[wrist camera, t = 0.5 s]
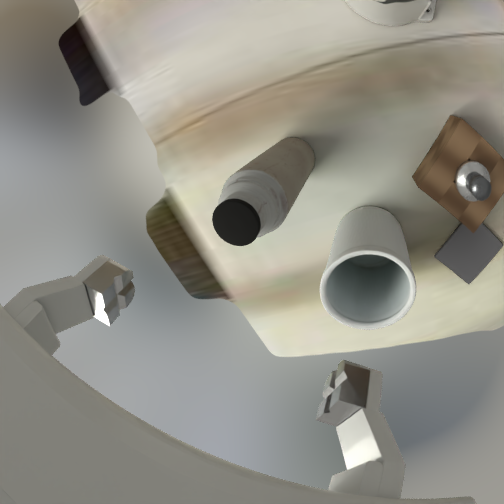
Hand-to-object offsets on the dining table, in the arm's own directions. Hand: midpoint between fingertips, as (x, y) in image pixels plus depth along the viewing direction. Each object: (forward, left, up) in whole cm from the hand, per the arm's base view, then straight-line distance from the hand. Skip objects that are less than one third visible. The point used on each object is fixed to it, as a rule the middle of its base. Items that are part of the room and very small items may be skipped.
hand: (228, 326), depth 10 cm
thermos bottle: (+8, -4, -45) cm, 46 cm away
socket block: (-8, +23, -45) cm, 51 cm away
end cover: (-8, +23, -43) cm, 49 cm away
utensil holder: (+14, +16, -45) cm, 49 cm away
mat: (+3, +36, -45) cm, 57 cm away
